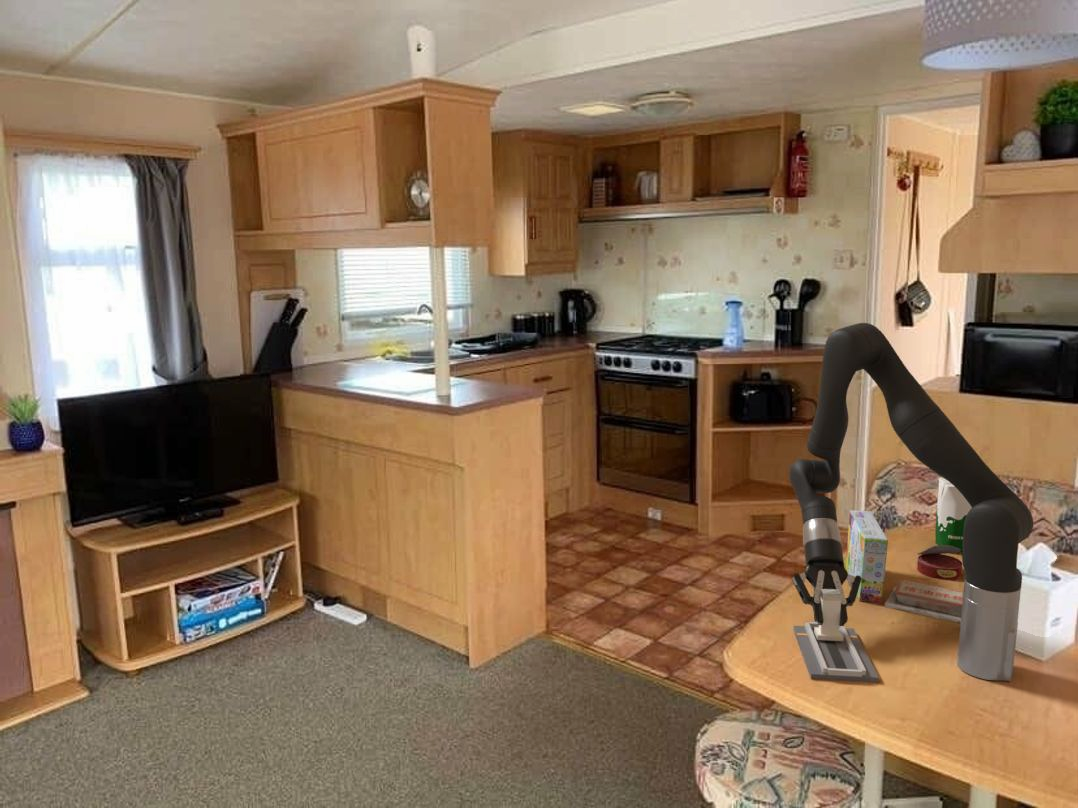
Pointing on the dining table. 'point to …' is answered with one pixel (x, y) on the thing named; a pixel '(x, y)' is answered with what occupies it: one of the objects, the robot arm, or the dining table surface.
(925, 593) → the packaged product
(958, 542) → the milk carton
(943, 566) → the canned food
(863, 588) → the snack box
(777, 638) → the dining table surface
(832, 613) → the fader tab
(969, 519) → the robot arm
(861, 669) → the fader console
